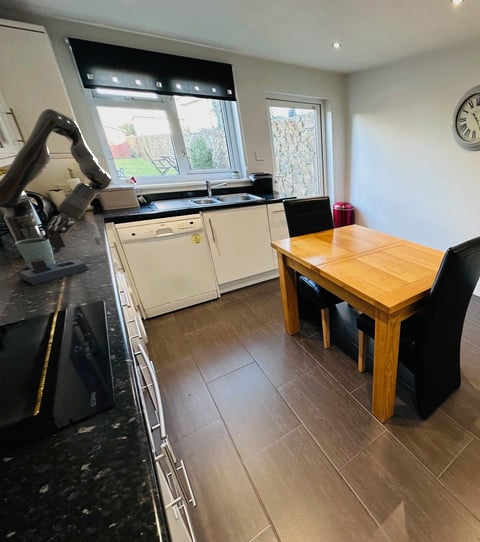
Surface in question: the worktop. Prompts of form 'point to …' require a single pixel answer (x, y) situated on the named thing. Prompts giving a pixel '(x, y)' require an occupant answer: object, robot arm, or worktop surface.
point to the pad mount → (54, 271)
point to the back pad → (59, 241)
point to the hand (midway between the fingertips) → (48, 239)
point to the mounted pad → (39, 265)
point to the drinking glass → (36, 250)
